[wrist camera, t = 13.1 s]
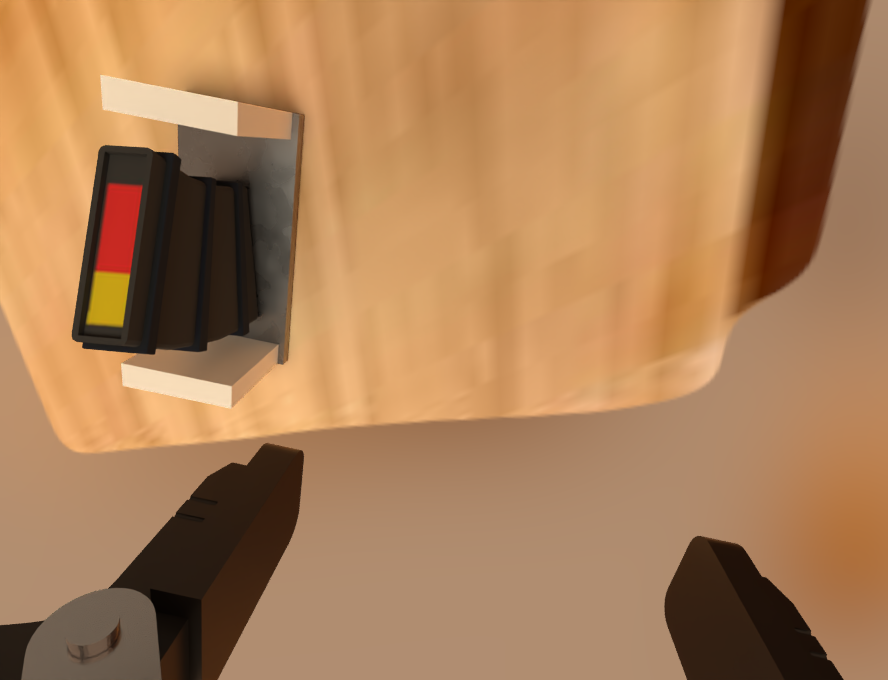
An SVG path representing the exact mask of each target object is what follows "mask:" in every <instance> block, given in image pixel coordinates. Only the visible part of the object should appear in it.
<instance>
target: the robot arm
mask: <svg viewBox="0 0 888 680" xmlns="http://www.w3.org/2000/svg"><path fill="white" fill-rule="evenodd" d="M303 462H304V454H303V451H302V450H297V449H293V448H288V447H283V446H279V445H274V444H269V443H266V444H264V445H263V446H262V447H261V448H260V449H259V451H258V452H257V453H256V455H255V456H254V457H253V458H252V459H251V461H250V462H249V463H248V465H247V466H246V465H241V464H237V463H230V464H229V465H227V466H225V467H223V468H222V469H220V470H218V471H217V472H215V473H213V474H211V475H210V476H208V477H207V478H206V479H205V480H204V481H203V482H202V484H201V485H200V486H199V487H198V488H197V489H196V490H195V491H194V493H193V494H192V495H191V497H190V499H189V500H187V501H186V502H185V503H184V504H183V505H182V506H181V507H180V509H179V510H178V511H177V512H176V515H175V517H172V518H171V519H170V520H169V521H168V522H167V523H166V524H165V526H164V527H163V528H162V529H161V530H160V531H159V532H158V534H157V535H156V536H155V537H154V538H153V539H152V540H151V542H150V543H149V544H148V545H147V546H146V547H145V548H144V549H143V550H142V552H141V553H140V554H139V555H138V556H137V557H136V558H135V560H134V561H133V562H132V563H131V564H130V565H129V566H128V568H127V569H126V570H125V571H124V572H123V573H122V574H121V576H120V577H119V578H118V579H117V580H116V581H115V582H114V583H113V584H112V585H111V586H110V587H109V588H108V589H103V590H99V591H94V592H91V593H88V594H85V595H83V596H81V597H78V598H76V599H74V600H72V601H70V602H69V603H67V604H65V605H64V606H62V607H61V608H59V609H58V610H56V611H55V612H54V613H52V614H51V615H50V616H49V617H48V618H47V619H46V620H44V621H39V622H32V623H22V624H10V625H0V680H217V679H218V678H219V676H220V674H221V672H222V670H223V668H224V666H225V664H226V662H227V660H228V659H229V656H230V655H231V653H232V651H233V649H234V647H235V645H236V643H237V641H238V639H239V637H240V636H241V634H242V631H243V630H244V628H245V626H246V624H247V622H248V620H249V618H250V616H251V615H252V613H253V611H254V609H255V607H256V605H257V603H258V601H259V599H260V597H261V595H262V594H263V592H264V590H265V588H266V586H267V584H268V582H269V580H270V578H271V576H272V574H273V572H274V570H275V569H276V567H277V565H278V563H279V561H280V559H281V557H282V555H283V553H284V551H285V550H286V548H287V546H288V544H289V542H290V539H291V537H292V534H293V532H294V529H295V526H296V522H297V519H298V514H299V507H300V496H301V485H302V473H303ZM665 618H666V622H667V626H668V629H669V631H670V634H671V637H672V640H673V642H674V645H675V648H676V651H677V653H678V656H679V659H680V661H681V664H682V667H683V670H684V672H685V675H686V678H687V680H843V678H842V676H841V675H840V673H839V672H838V671H837V669H836V668H835V666H834V664H833V663H832V662H831V661H830V660H827V657H826V656H827V654H826V652H825V651H824V649H823V648H822V646H821V645H820V643H819V642H818V640H817V639H816V637H814V636H811V630H810V628H809V627H808V625H807V624H806V622H805V621H804V619H803V618H802V616H801V615H800V613H799V612H798V610H797V609H796V607H795V606H794V604H793V603H792V602H791V601H790V600H789V599H788V598H787V597H786V596H785V595H784V594H783V593H782V592H781V591H780V590H779V589H777V587H776V586H775V585H773V584H772V583H771V582H770V581H769V580H768V579H767V578H765V577H762V576H761V575H760V573H759V571H758V570H757V568H756V567H755V565H754V564H753V562H752V560H751V559H750V557H749V556H748V554H747V553H746V551H745V550H744V548H743V547H742V546H740V545H738V544H735V543H731V542H726V541H721V540H716V539H712V538H707V537H702V536H697V537H695V538H693V539H692V541H691V542H690V544H689V546H688V548H687V550H686V552H685V554H684V556H683V558H682V560H681V563H680V565H679V567H678V569H677V571H676V573H675V575H674V577H673V579H672V581H671V584H670V586H669V587H668V590H667V593H666V597H665Z"/></svg>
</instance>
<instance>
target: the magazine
mask: <svg viewBox="0 0 888 680" xmlns="http://www.w3.org/2000/svg"><path fill="white" fill-rule="evenodd" d="M180 167H181V158H180V157H178V156H177V155H176V154H174V153H166V152H154V151H153V150H151V149H149V148H142V147H126V146H110V145H105V146H102V147H101V148H100V150H99V153H98V160H97V167H96V174H95V180H94V187H93V194H92V201H91V208H90V214H89V221H88V228H87V235H86V241H85V248H84V255H83V262H82V268H81V275H80V282H79V289H78V295H77V302H76V309H75V316H74V323H73V329H72V338H73V340H75V341H76V342H83V345H82V348H84V349H94V350H105V351H116V352H127V353H138V354H149V355H155V353H156V349H162V350H179V351H190V352H203V351H207V345H208V342H212V341H216V340H220V339H222V338H224V337H226V336H228V335H233V336H245V335H246V334H248V333H249V332H250V331H249V324H250V323H251V322H253V321H255V320H256V319H257V318H258V308H257V297H256V286H255V274H254V263H253V251H252V240H251V229H250V217H249V206H248V195H247V188H246V187H245V186H243V185H242V182H239V181H223V180H216V179H215V178H212V177H201V176H188V175H186V174H185V173H184V172H182V171H181V170H180Z"/></svg>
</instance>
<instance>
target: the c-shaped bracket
mask: <svg viewBox="0 0 888 680" xmlns="http://www.w3.org/2000/svg"><path fill="white" fill-rule="evenodd" d="M100 77H101V91H102V105H103V110H109V111H114V112H119V113H124V114H129V115H134V116H139V117H144V118H149V119H154V120H159V121H164V122H169V123H174V124H179V125H184V126H189V127H194V128H199V129H204V130H209V131H214V132H219V133H224V134H229V135H235V136H244V137H260V138H275V139H290V140H291V129H292V113H291V112H286V111H281V110H276V109H271V108H266V107H261V106H256V105H251V104H246V103H241V102H236V101H231V100H226V99H221V98H216V97H211V96H206V95H201V94H196V93H191V92H186V91H180V90H175V89H170V88H165V87H160V86H155V85H150V84H145V83H140V82H135V81H130V80H125V79H120V78H114V77H109V76H104V75H100ZM278 346H279V344H274V343H269V342H264V341H259V340H254V339H250V338H245V337H240V336H233V335H228V336H226V337H224V338H222V339H220V340H216V341H212V342H208V345H207V351H203V352H190V351H179V350H162V349H156V353H155V355H149V354H137V355H135V356H133V357H131V358H129V359H128V360H126V361H124V362H122V363H121V367H122V381H123V386H127V387H131V388H136V389H141V390H146V391H150V392H155V393H160V394H165V395H169V396H174V397H179V398H184V399H188V400H193V401H198V402H203V403H207V404H212V405H217V406H222V407H226V408H232V407H233V406H234V405H235V404H236V403H237V402H238V401H239V400H241V399H242V398H243V397H244V396H245V395H246V394H247V393H248V392H249V391H250V390H251V389H252V388H253V387H254V386H255V385H256V384H257V383H258V382H259V381H260V380H261V379H262V378H263V377H264V376H265V375H266V374H267V373H268V372H269V371H270V370H271V369H272V368H273V367H274V366H275V365H276V364H277V363H278Z"/></svg>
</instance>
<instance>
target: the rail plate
mask: <svg viewBox="0 0 888 680" xmlns="http://www.w3.org/2000/svg"><path fill="white" fill-rule="evenodd" d="M303 127H304V115H301V114H296V113H292V129H291V140H290V139H275V138H260V137H244V136H235V135H229V134H224V133H219V132H214V131H209V130H204V129H199V128H194V127H189V126H184V125H179V124H178V155H179V157H180V158H181V167H180V170H181V171H182V172H184V173H185V174H186V175H188V176H201V177H212V178H215V179H216V180H223V181H239V182H242V185H243V186H245V187H246V188H247V195H248V206H249V217H250V229H251V240H252V251H253V263H254V274H255V286H256V297H257V308H258V318H257V319H256V320H255V321H253V322H251V323H250V324H249V331H250V332H249V333H248V334H246V335H245V336H240V337H245V338H250V339H254V340H259V341H264V342H269V343H274V344H279V346H278V364H284V363H285V362H286V361H287V360H288V347H289V332H290V318H291V303H292V288H293V274H294V259H295V244H296V230H297V215H298V201H299V186H300V171H301V157H302V142H303Z"/></svg>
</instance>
